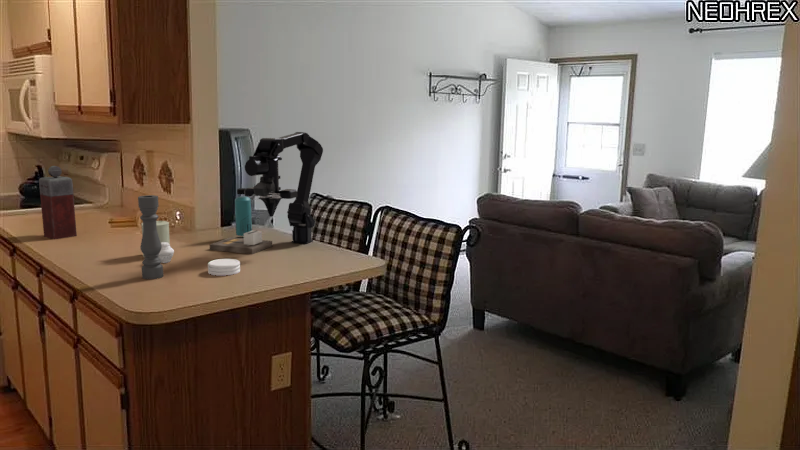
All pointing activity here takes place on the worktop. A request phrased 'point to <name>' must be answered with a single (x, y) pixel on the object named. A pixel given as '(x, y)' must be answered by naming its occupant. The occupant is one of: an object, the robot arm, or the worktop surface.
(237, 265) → the white flat disc
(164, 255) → the muffin
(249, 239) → the fader knob
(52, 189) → the red lidded canister
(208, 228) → the worktop surface
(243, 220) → the beverage bottle
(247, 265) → the worktop surface
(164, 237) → the can
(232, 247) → the fader console
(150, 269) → the candle holder
